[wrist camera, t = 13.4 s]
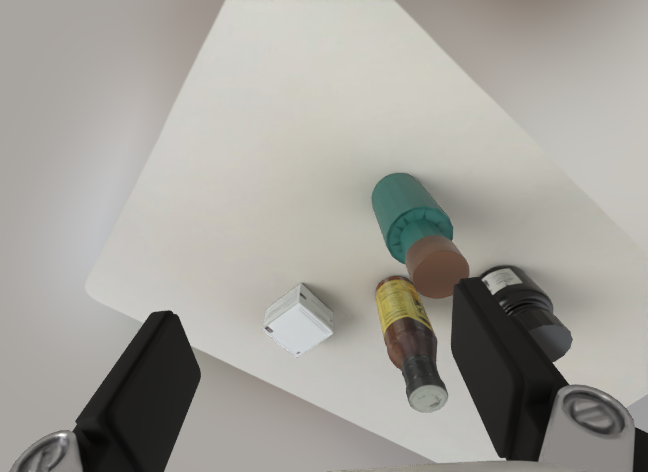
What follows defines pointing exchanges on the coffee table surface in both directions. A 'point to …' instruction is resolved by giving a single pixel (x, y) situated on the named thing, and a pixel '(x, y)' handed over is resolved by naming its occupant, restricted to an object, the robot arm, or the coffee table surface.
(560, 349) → the ink bottle
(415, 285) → the stopper
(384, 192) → the bottle
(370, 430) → the coffee table surface
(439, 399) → the sauce bottle
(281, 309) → the small box
